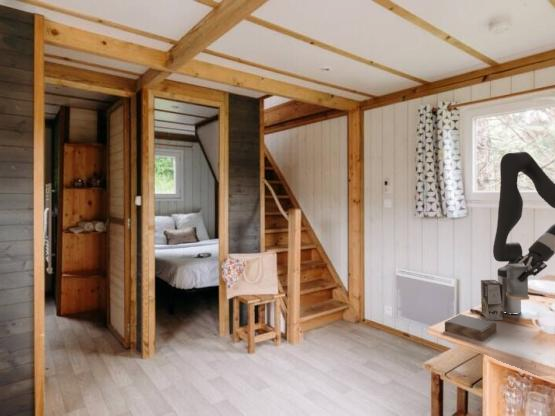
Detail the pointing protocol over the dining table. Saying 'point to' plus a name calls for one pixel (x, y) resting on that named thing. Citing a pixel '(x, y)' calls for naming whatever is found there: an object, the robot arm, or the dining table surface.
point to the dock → (471, 327)
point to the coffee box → (492, 299)
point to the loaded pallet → (516, 282)
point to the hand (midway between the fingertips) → (515, 278)
